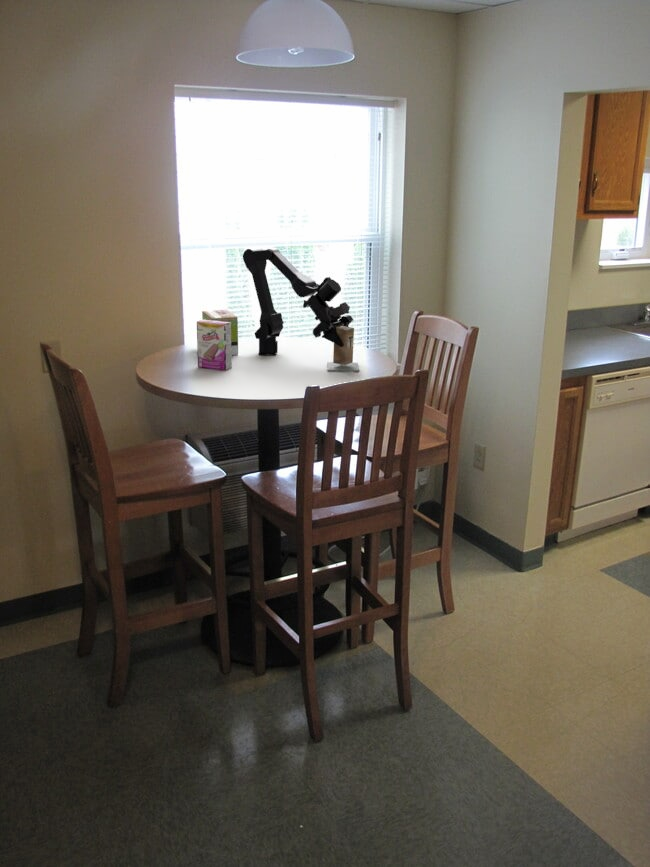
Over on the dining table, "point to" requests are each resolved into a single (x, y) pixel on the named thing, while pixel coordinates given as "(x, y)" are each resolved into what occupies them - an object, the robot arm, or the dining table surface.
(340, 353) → the letter block
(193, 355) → the dining table surface
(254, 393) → the dining table surface
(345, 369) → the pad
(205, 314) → the tea box
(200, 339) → the candy bar box
